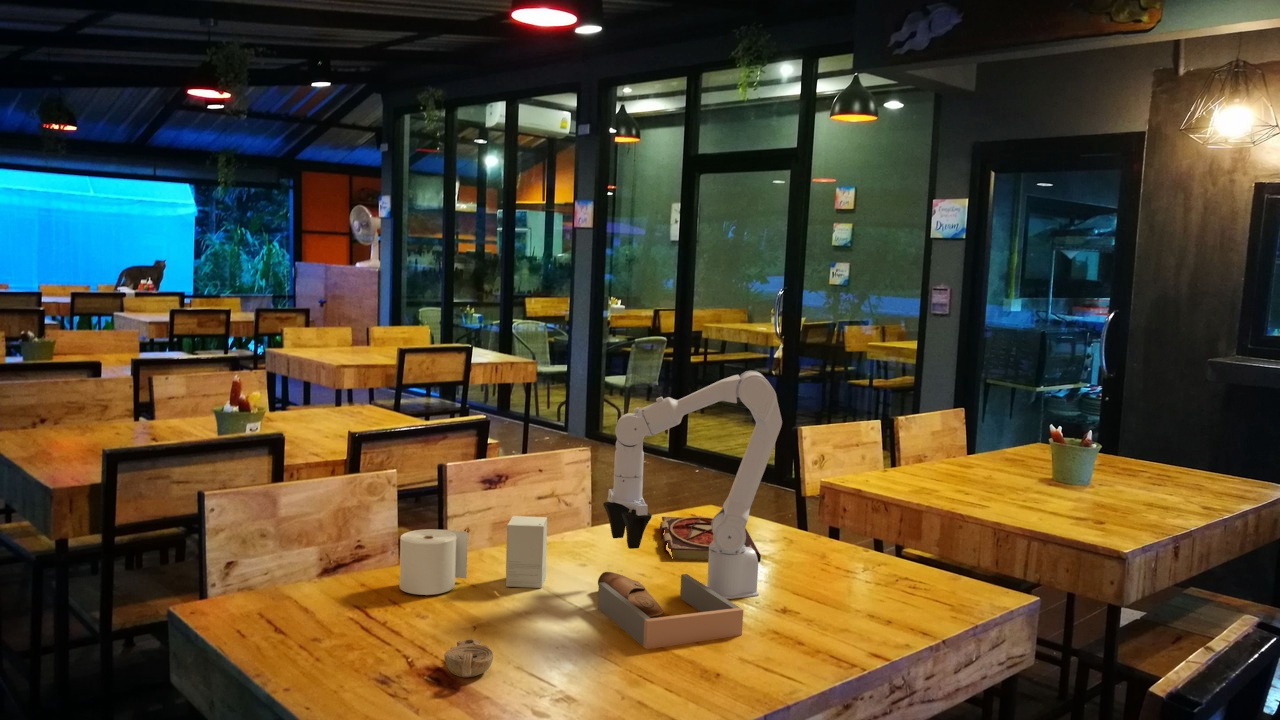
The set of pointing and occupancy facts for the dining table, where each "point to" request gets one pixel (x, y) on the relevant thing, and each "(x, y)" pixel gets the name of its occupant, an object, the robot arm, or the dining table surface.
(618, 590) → the sunglasses case
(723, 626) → the open rectangular frame
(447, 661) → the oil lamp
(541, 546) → the supplement box
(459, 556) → the toilet tissue
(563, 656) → the dining table surface
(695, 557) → the book
